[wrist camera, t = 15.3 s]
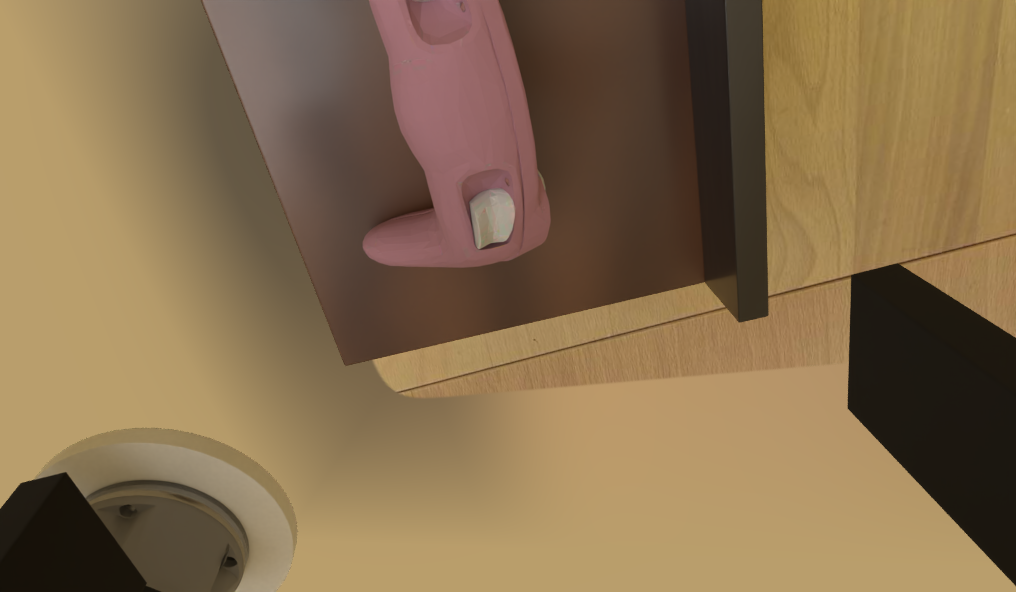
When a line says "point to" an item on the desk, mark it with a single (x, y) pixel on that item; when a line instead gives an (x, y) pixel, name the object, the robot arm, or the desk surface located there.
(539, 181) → the video game controller
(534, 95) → the shelf
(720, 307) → the desk surface
